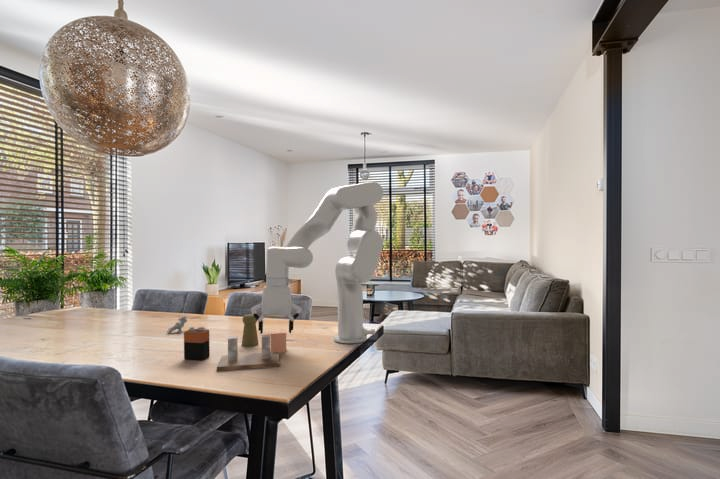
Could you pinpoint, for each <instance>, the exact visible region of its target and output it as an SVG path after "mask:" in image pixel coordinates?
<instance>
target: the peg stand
mask: <svg viewBox="0 0 720 479" xmlns="http://www.w3.org/2000/svg"><path fill="white" fill-rule="evenodd" d="M238 345H239V344H238V336H236V335H235V336H228V337H227V354H224V355H221V356H220V359H219V360H218V363H217V366H216V372H222V371H223V372H224V371H236V370H237V371H238V370H252V369H264V368H265V369H266V368H267V369H268V368H280V353H279V352H271V334H261V352H257V353H243V354H242V353H241V354H238V352H239V351H238V348H239V346H238Z"/></svg>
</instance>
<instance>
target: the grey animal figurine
mask: <svg viewBox="0 0 720 479" xmlns="http://www.w3.org/2000/svg"><path fill="white" fill-rule="evenodd" d="M187 322H188V319H187V316H181V317H180V316H179V317H178V321H177V322H176V323H174V325H173V326H171V327H169V328H168V329H167V330H166V332H167V334H171V333H172V332H174V331H176V330H180V331H179V332H180V333H181V332H182V328H184V326H185V324H186V323H187Z"/></svg>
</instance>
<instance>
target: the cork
mask: <svg viewBox="0 0 720 479" xmlns="http://www.w3.org/2000/svg"><path fill="white" fill-rule="evenodd" d="M257 322H258V320H257V319H256V318H255V317H254V316H253V314H252V313H248V314H244V315H243V317H242V323H243V332H242V340H241V346H242V347H245V348H246V347H248V348H249V347H256V346H258V345H259V337H258V330H257V324H256V323H257Z"/></svg>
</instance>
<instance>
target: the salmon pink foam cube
mask: <svg viewBox="0 0 720 479" xmlns="http://www.w3.org/2000/svg"><path fill="white" fill-rule="evenodd" d="M270 352H279V354H281V353H287V330H286V329H272V330H270Z"/></svg>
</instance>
